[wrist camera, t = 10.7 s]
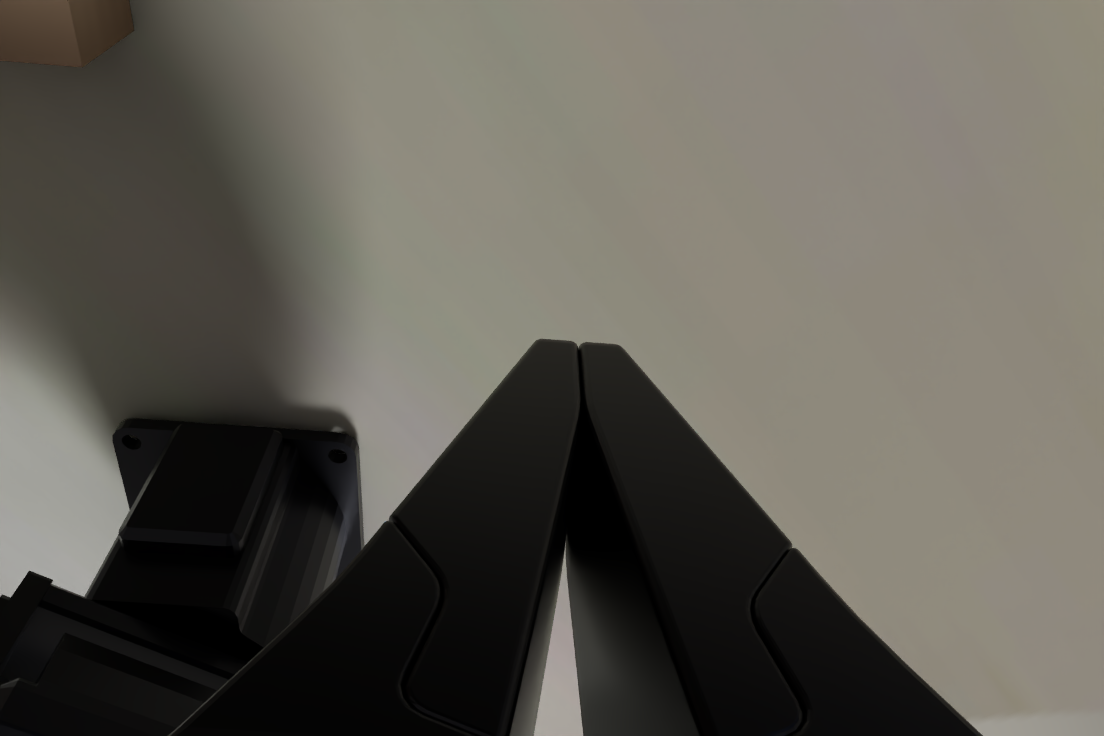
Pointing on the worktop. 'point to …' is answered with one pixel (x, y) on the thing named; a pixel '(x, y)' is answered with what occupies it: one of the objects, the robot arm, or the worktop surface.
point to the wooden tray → (61, 30)
